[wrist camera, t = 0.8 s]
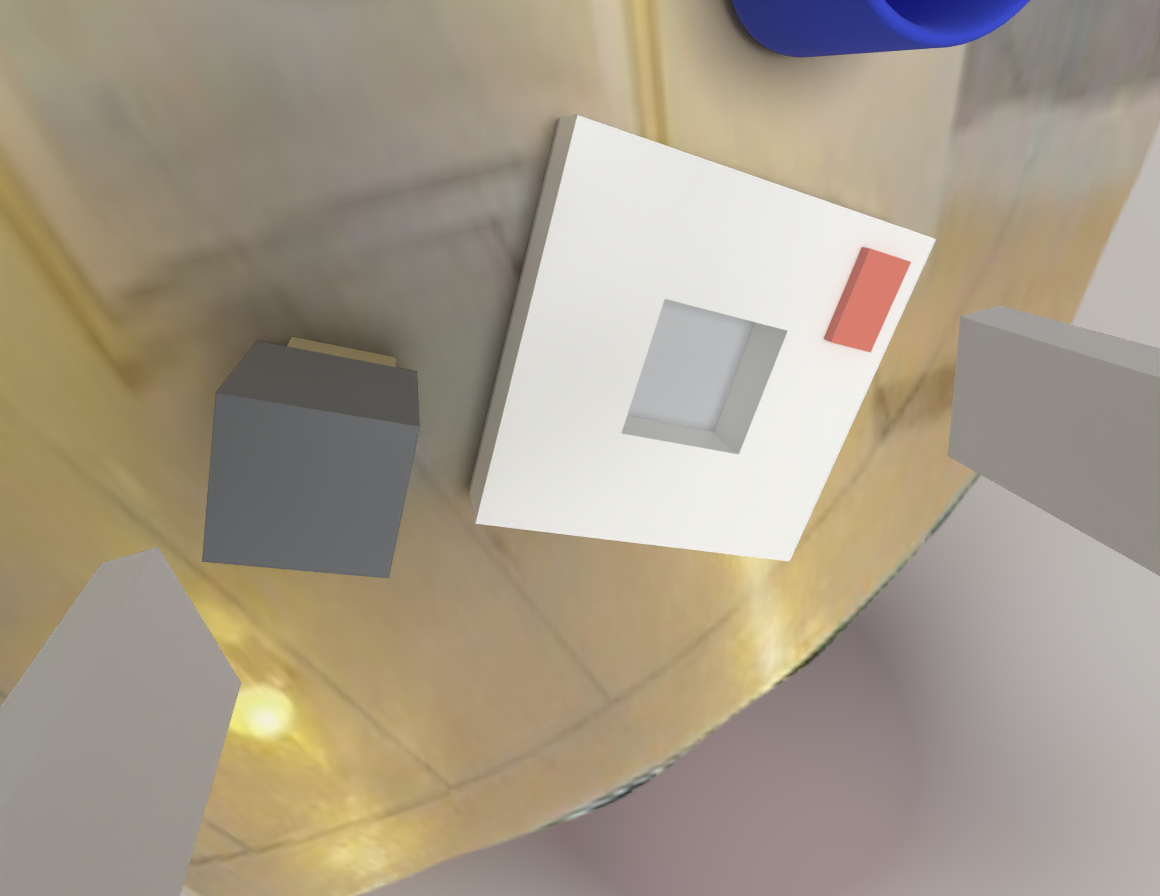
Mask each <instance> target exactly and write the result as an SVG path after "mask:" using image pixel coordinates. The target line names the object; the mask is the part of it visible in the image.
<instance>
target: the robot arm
mask: <svg viewBox="0 0 1160 896" xmlns="http://www.w3.org/2000/svg"><path fill="white" fill-rule="evenodd" d="M948 456H949V457H951V458H952V459H954V460H956V461H958V462H959V463H961V464H963V465H965V466H966V467H968V468H970V469H972V470H974V471H975V472H977V473H979V474H981V475H982V476H984V477H986V478H988V479H990V480H991V481H993V482H995V483H997V484H999V485H1000V486H1002V487H1004V488H1005V489H1007V490H1009V491H1011V492H1012V493H1014V494H1016V495H1018V496H1020V497H1021V498H1023V499H1025V500H1027V501H1029V502H1030V503H1032V504H1034V505H1036V506H1037V507H1039V508H1041V509H1042V510H1044V511H1046V512H1048V513H1050V514H1051V515H1053V516H1055V517H1057V518H1059V519H1060V520H1062V521H1064V522H1065V523H1067V524H1069V525H1071V526H1073V527H1074V528H1076V529H1078V530H1080V531H1081V532H1083V533H1085V534H1087V535H1088V536H1090V537H1092V538H1094V539H1096V540H1097V541H1099V542H1101V543H1103V544H1104V545H1106V546H1108V547H1110V548H1111V549H1113V550H1115V551H1117V552H1119V553H1121V554H1122V555H1124V556H1126V557H1127V558H1129V559H1131V560H1133V561H1134V562H1136V563H1138V564H1140V565H1141V566H1143V567H1145V568H1147V569H1149V570H1150V571H1152V572H1154V573H1156V574H1157V575H1159V576H1160V349H1159V348H1156V347H1152V346H1148V345H1144V344H1140V343H1137V342H1133V341H1129V340H1126V339H1122V338H1118V337H1114V336H1111V335H1107V334H1103V333H1100V332H1096V331H1092V330H1088V329H1085V328H1081V327H1077V326H1074V325H1070V324H1066V323H1062V322H1059V321H1055V320H1051V319H1047V318H1044V317H1040V316H1036V315H1033V314H1029V313H1025V312H1021V311H1018V310H1014V309H1010V308H1007V307H1003V306H996V307H992V308H989V309H985V310H982V311H978V312H975V313H971V314H968V315H964V316H961V317H960V328H959V339H958V350H957V361H956V372H955V383H954V394H953V405H952V416H951V427H950V439H949V450H948ZM240 685H241V682H240V680H239V678H238V677H237V675H236V673H235V672H234V670H233V668H232V667H231V665H230V664H229V662H228V660H227V659H226V657H225V655H224V654H223V652H222V650H221V649H220V647H219V646H218V644H217V642H216V641H215V639H214V637H213V636H212V634H211V632H210V631H209V629H208V628H207V626H206V624H205V623H204V621H203V619H202V618H201V616H200V614H199V613H198V611H197V610H196V608H195V606H194V605H193V603H192V601H191V600H190V598H189V597H188V595H187V593H186V592H185V590H184V588H183V587H182V585H181V583H180V582H179V580H178V579H177V577H176V575H175V574H174V572H173V570H172V569H171V567H170V565H169V564H168V562H167V561H166V559H165V557H164V556H163V554H162V552H161V551H160V549H159V547H156V548H152V549H149V550H145V551H142V552H138V553H135V554H131V555H128V556H124V557H121V558H118V559H114V560H111V561H107V562H104V563H101V564H100V566H99V567H98V569H97V570H96V571H95V573H94V574H93V576H92V577H91V578H90V580H89V581H88V583H87V584H86V586H85V587H84V588H83V590H82V591H81V593H80V594H79V596H78V597H77V598H76V600H75V601H74V603H73V604H72V606H71V607H70V608H69V610H68V611H67V613H66V614H65V615H64V617H63V618H62V620H61V621H60V623H59V624H58V625H57V627H56V628H55V630H54V631H53V633H52V634H51V635H50V637H49V638H48V640H47V641H46V643H45V644H44V645H43V647H42V648H41V650H40V651H39V653H38V654H37V655H36V657H35V658H34V660H33V661H32V662H31V664H30V665H29V667H28V668H27V670H26V671H25V672H24V674H23V675H22V677H21V678H20V680H19V681H18V682H17V684H16V685H15V687H14V688H13V690H12V691H11V692H10V694H9V695H8V697H7V698H6V700H5V701H4V702H3V704H2V705H1V707H0V896H180V894H181V891H182V887H183V884H184V880H185V877H186V873H187V870H188V866H189V863H190V859H191V856H192V852H193V849H194V845H195V842H196V838H197V835H198V831H199V828H200V824H201V821H202V818H203V814H204V811H205V807H206V804H207V800H208V797H209V793H210V790H211V786H212V783H213V779H214V776H215V772H216V769H217V765H218V762H219V758H220V755H221V751H222V748H223V744H224V741H225V737H226V734H227V730H228V727H229V723H230V720H231V716H232V713H233V710H234V706H235V703H236V699H237V696H238V692H239V689H240Z"/></svg>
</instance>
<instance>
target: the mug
mask: <svg viewBox="0 0 1160 896" xmlns="http://www.w3.org/2000/svg"><path fill="white" fill-rule="evenodd" d="M1029 1H1030V0H732V3H733V5H734V8H735V11H736V13H737V15H738V17H739V19H740V21H741V23H742V24H743V26H744V27H745V28H746V30H747V31H748V32H749V34H750V35H751V36H752V37H753V38H754V39H755V40H757V41H758V42H759V43H760V44H762V45H763V46H765V47H766V48H768V49H770V50H772V51H774V52H777V53H779V54H783V55H787V56H792V57H815V56H829V55H843V54H857V53H871V52H885V51H900V50H914V49H928V48H942V47H951V46H957V45H961V44H965V43H968V42H971V41H974V40H976V39H978V38H981V37H983V36H985V35H987V34H988V33H990V32H992V31H994V30H995V29H997V28H998V27H1000V26H1001V25H1003V24H1004V23H1006V22H1007V21H1008V20H1009V19H1010V18H1012V17H1013V16H1014V15H1015V14H1016V13H1018V12H1019V11H1020V10H1021V9H1022V8H1023V7H1024V6H1025V5H1026V4H1027V3H1028V2H1029Z"/></svg>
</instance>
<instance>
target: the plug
mask: <svg viewBox="0 0 1160 896" xmlns="http://www.w3.org/2000/svg"><path fill="white" fill-rule="evenodd" d="M419 427H420V423H419V402H418V381H417V371H413V370H407V369H402V368H397V367H396V357H392V356H387V355H382V354H377V353H372V352H367V351H362V350H357V349H352V348H347V347H342V346H337V345H332V344H327V343H322V342H316V341H311V340H306V339H301V338H296V337H292V338H291V340H290V341H289V343H288V345H287V346H283V345H278V344H272V343H267V342H262V341H256V342H255V344H254V345H253V346H252V348H251V349H250V350H249V351H248V353H247V354H246V355H245V356H244V358H243V359H242V360H241V362H240V363H239V364H238V365H237V367H236V368H235V369H234V371H233V372H232V373H231V374H230V376H229V377H228V378H227V379H226V381H225V382H224V383H223V385H222V386H221V387H220V388H219V390H218V391H217V392H216V398H215V410H214V423H213V435H212V447H211V459H210V471H209V483H208V495H207V507H206V519H205V532H204V544H203V556H202V562H212V563H223V564H234V565H245V566H257V567H268V568H279V569H290V570H301V571H313V572H324V573H335V574H346V575H358V576H369V577H380V578H389V575H390V570H391V565H392V560H393V555H394V551H395V546H396V541H397V536H398V531H399V526H400V521H401V516H402V511H403V506H404V501H405V496H406V491H407V487H408V482H409V477H410V472H411V467H412V462H413V457H414V452H415V447H416V442H417V437H418V432H419Z"/></svg>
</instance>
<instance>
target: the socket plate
mask: <svg viewBox="0 0 1160 896" xmlns="http://www.w3.org/2000/svg"><path fill="white" fill-rule="evenodd" d="M935 240H936V239H934V238H931V237H928V236H925V235H922V234H919V233H917V232H914V231H911V230H908V229H905V228H902V227H899V226H896V225H894V224H891V223H888V222H885V221H882V220H879V219H876V218H873V217H870V216H868V215H865V214H862V213H859V212H856V211H853V210H850V209H847V208H844V207H842V206H839V205H836V204H833V203H830V202H827V201H824V200H821V199H819V198H816V197H813V196H810V195H807V194H804V193H801V192H798V191H795V190H793V189H790V188H787V187H784V186H781V185H778V184H775V183H772V182H769V181H767V180H764V179H761V178H758V177H755V176H752V175H749V174H746V173H744V172H741V171H738V170H735V169H732V168H729V167H726V166H723V165H720V164H718V163H715V162H712V161H709V160H706V159H703V158H700V157H697V156H695V155H692V154H689V153H686V152H683V151H680V150H677V149H674V148H671V147H669V146H666V145H663V144H660V143H657V142H654V141H651V140H648V139H645V138H643V137H640V136H637V135H634V134H631V133H628V132H625V131H622V130H620V129H617V128H614V127H611V126H608V125H605V124H602V123H599V122H596V121H594V120H591V119H588V118H585V117H582V116H579V115H575V116H570V117H565V118H560V119H558V122H557V126H556V130H555V134H554V138H553V143H552V147H551V151H550V155H549V159H548V163H547V168H546V172H545V176H544V180H543V184H542V188H541V192H540V197H539V201H538V205H537V209H536V213H535V217H534V222H533V226H532V230H531V234H530V238H529V242H528V247H527V251H526V255H525V259H524V263H523V267H522V271H521V276H520V280H519V284H518V288H517V292H516V296H515V301H514V305H513V309H512V313H511V317H510V321H509V325H508V330H507V334H506V338H505V342H504V346H503V350H502V355H501V359H500V363H499V367H498V371H497V375H496V379H495V384H494V388H493V392H492V396H491V400H490V404H489V409H488V413H487V417H486V421H485V425H484V429H483V433H482V438H481V442H480V446H479V450H478V454H477V458H476V463H475V467H474V471H473V475H472V479H471V483H470V487H469V492H470V497H471V502H472V508H473V513H474V518H475V524H483V525H492V526H500V527H508V528H516V529H525V530H533V531H541V532H550V533H558V534H566V535H575V536H583V537H591V538H600V539H608V540H616V541H625V542H633V543H641V544H649V545H658V546H666V547H674V548H683V549H691V550H699V551H708V552H716V553H724V554H733V555H741V556H749V557H758V558H766V559H774V560H782V561H790V559H791V557H792V555H793V553H794V551H795V548H796V546H797V544H798V542H799V540H800V537H801V535H802V533H803V531H804V529H805V526H806V524H807V522H808V520H809V518H810V515H811V513H812V511H813V509H814V507H815V504H816V502H817V500H818V498H819V496H820V493H821V491H822V489H823V487H824V485H825V482H826V480H827V478H828V476H829V474H830V471H831V469H832V467H833V465H834V463H835V460H836V458H837V456H838V454H839V452H840V449H841V447H842V445H843V443H844V441H845V438H846V436H847V434H848V432H849V430H850V427H851V425H852V423H853V421H854V419H855V416H856V414H857V412H858V410H859V408H860V405H861V403H862V401H863V399H864V397H865V394H866V392H867V390H868V388H869V386H870V383H871V381H872V379H873V377H874V374H875V372H876V370H877V368H878V366H879V363H880V361H881V359H882V357H883V355H884V352H885V350H886V348H887V346H888V344H889V341H890V339H891V337H892V335H893V333H894V330H895V328H896V326H897V324H898V322H899V319H900V317H901V315H902V313H903V311H904V308H905V306H906V304H907V302H908V300H909V297H910V295H911V293H912V291H913V289H914V286H915V284H916V282H917V280H918V278H919V275H920V273H921V271H922V269H923V267H924V264H925V262H926V260H927V258H928V256H929V253H930V251H931V249H932V247H933V245H934V242H935Z"/></svg>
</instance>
